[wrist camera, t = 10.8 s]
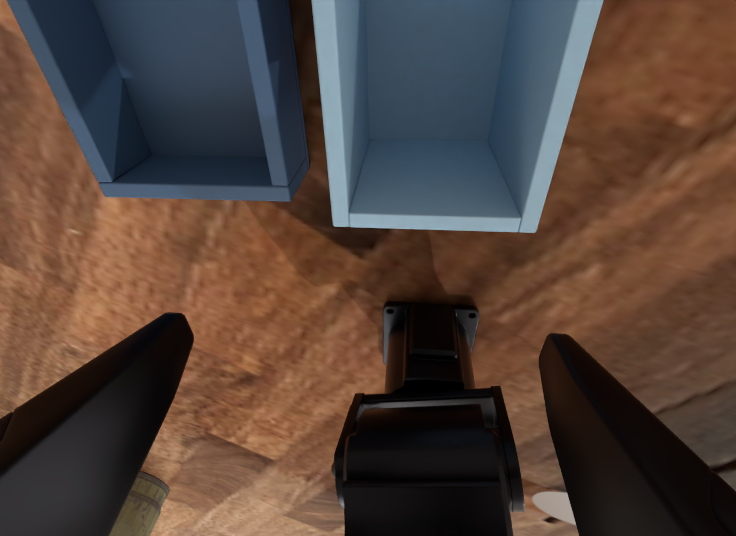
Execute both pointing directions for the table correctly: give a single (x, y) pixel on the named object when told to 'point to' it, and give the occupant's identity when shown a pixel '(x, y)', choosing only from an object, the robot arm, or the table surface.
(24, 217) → the table surface
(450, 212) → the top bin
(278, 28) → the lower bin
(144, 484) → the thermos
